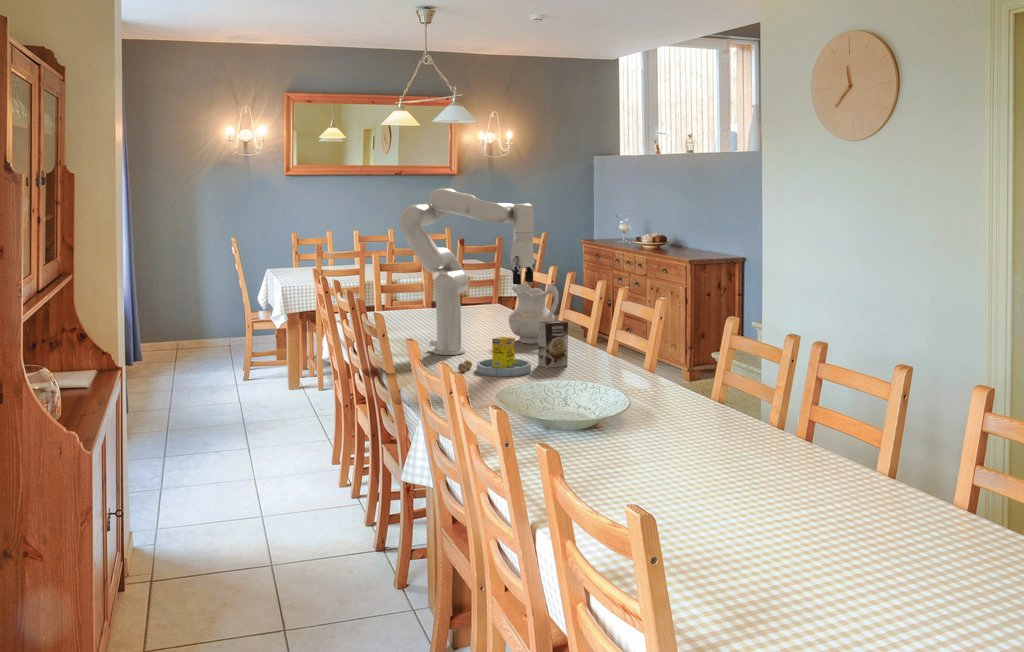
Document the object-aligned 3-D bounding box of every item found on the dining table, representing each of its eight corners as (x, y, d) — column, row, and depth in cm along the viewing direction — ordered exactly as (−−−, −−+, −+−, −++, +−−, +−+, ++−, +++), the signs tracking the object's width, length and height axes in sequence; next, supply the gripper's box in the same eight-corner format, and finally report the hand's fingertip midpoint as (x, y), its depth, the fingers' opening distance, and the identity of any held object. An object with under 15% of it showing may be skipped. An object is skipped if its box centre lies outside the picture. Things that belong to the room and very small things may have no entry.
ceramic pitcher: (564, 341, 385) (566, 283, 383) (554, 346, 366) (555, 284, 364) (515, 339, 391) (516, 281, 389) (502, 343, 372) (503, 283, 370)
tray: (466, 373, 316) (466, 365, 315) (493, 363, 332) (493, 356, 332) (514, 378, 307) (514, 370, 306) (539, 368, 323) (540, 361, 323)
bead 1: (456, 372, 318) (456, 363, 317) (461, 370, 320) (461, 361, 320) (464, 373, 316) (464, 364, 316) (468, 371, 319) (468, 362, 318)
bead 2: (461, 369, 322) (461, 360, 322) (466, 367, 325) (466, 359, 325) (469, 370, 321) (469, 361, 320) (473, 368, 324) (473, 359, 323)
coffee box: (546, 368, 324) (546, 323, 322) (537, 365, 330) (537, 321, 327) (568, 366, 328) (568, 321, 326) (559, 362, 334) (559, 319, 331)
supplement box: (506, 371, 315) (506, 340, 314) (491, 369, 319) (491, 338, 317) (515, 368, 321) (515, 337, 319) (500, 366, 324) (500, 336, 322)
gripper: (525, 235, 347) (525, 280, 350) (502, 238, 332) (503, 284, 335) (542, 236, 344) (542, 281, 346) (521, 238, 328) (521, 285, 331)
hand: (523, 283), depth 340 cm, fingers open, 9 cm apart
